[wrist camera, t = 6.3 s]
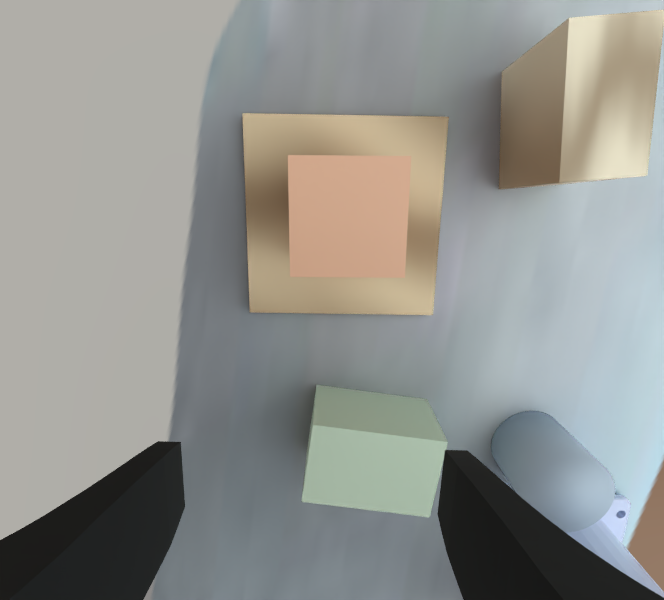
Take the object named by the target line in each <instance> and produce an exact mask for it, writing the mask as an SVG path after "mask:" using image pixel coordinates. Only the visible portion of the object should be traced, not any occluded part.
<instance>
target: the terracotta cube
mask: <svg viewBox="0 0 664 600" xmlns="http://www.w3.org/2000/svg"><path fill="white" fill-rule="evenodd" d="M410 172H411V156H346V155H288V193H289V247H290V277H371V278H405V267H406V248H407V229H408V210H409V191H410Z"/></svg>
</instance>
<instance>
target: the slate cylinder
mask: <svg viewBox="0 0 664 600" xmlns="http://www.w3.org/2000/svg"><path fill="white" fill-rule="evenodd" d="M491 450H492V455H493V457H494V459H495V461H496V463H497V464H498V466H499V467H500V469H501V470H502V472H503V473H504V475H505V477H506V478H507V480H508V481H509V483H510V484H511V486H512V487H513V489H514V490H515V492H516V493H517V494H518V495H519V496H520V497H521V498H523V499H524V500H525V501H526V502H527V503H529V504H530V505H531V506H532V507H533V508H535V509H536V510H537V511H538V512H540V513H541V514H542V515H543V516H545V517H546V518H547V519H548V520H550V521H551V522H552V523H554V524H555V525H556V526H558V527H559V528H560V529H561V530H563V531H564V532H574V531H579V530H582V529H585V528H587V527H589V526H591V525H593V524H594V523H596V522H597V521H599V520H600V519H601V518H602V517H603V516H604V515H605V514H606V513H607V512H608V510H609V509H610V507H611V505H612V503H613V500H614V497H615V482H614V479H613V477H612V475H611V473H610V472H609V471H608V469H607V468H606V467H605V466H604V465H603V464H601V463H600V462H599V461H598V460H597V459H596V458H595V457H594V456H593V455H592V454H591V453H590V452H589V451H588V450H587V449H586V448H585V447H584V446H583V445H581V444H580V443H579V442H578V441H577V440H576V439H575V438H574V437H573V436H572V435H571V434H570V433H569V432H568V431H567V430H566V429H565V428H564V427H563V426H561V425H560V424H559V423H558V422H557V421H556V420H555V419H554V418H553V417H551V416H550V415H548V414H546V413H543V412H538V411H525V412H521V413H517V414H515V415H513V416H511V417H509V418H508V419H506V420H505V421H504V422H503V423H501V425H500V426H499V427H498V428H497V430H496V431H495V433H494V435H493V438H492V443H491Z"/></svg>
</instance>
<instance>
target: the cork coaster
mask: <svg viewBox="0 0 664 600" xmlns="http://www.w3.org/2000/svg"><path fill="white" fill-rule="evenodd" d="M448 119H449V117H434V116H373V115H312V114H251V113H243V140H244V167H245V195H246V222H247V249H248V277H249V304H250V312H259V313H327V314H395V315H433V306H434V294H435V281H436V269H437V256H438V244H439V231H440V219H441V206H442V194H443V181H444V169H445V156H446V144H447V131H448ZM288 155H346V156H411V172H410V191H409V210H408V229H407V248H406V267H405V278H371V277H290V247H289V193H288Z"/></svg>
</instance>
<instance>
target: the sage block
mask: <svg viewBox="0 0 664 600" xmlns="http://www.w3.org/2000/svg"><path fill="white" fill-rule="evenodd" d="M447 444H448V441H447V439H446V437H445V435H444V433H443V431H442V429H441V427H440V425H439V423H438V421H437V419H436V417H435V415H434V413H433V411H432V409H431V407H430V405H429V403H428V400H427V399H421V398H413V397H405V396H398V395H390V394H383V393H375V392H367V391H360V390H352V389H345V388H337V387H329V386H322V385H316V392H315V399H314V406H313V412H312V419H311V426H310V433H309V440H308V447H307V455H306V464H305V474H304V483H303V493H302V502H307V503H315V504H323V505H332V506H340V507H348V508H356V509H364V510H372V511H380V512H389V513H397V514H405V515H413V516H421V517H429V518H430V514H431V510H432V506H433V502H434V498H435V493H436V489H437V485H438V481H439V477H440V473H441V469H442V465H443V460H444V454H445V450H446V448H447Z"/></svg>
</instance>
